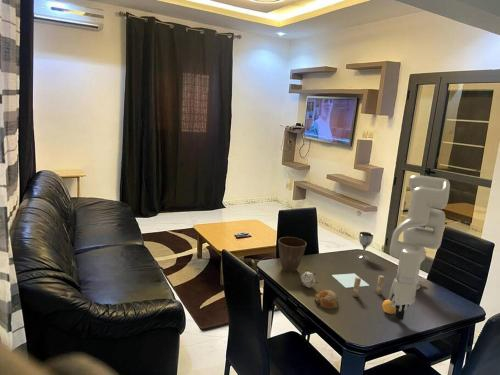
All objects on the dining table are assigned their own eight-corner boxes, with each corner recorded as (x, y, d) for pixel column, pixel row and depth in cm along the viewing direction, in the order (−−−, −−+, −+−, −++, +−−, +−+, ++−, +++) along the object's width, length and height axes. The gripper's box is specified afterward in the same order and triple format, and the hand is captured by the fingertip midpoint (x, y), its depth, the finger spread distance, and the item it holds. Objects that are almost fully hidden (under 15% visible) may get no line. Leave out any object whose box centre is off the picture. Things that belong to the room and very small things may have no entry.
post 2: (379, 292, 182) (382, 275, 180) (382, 294, 179) (385, 277, 177) (374, 292, 181) (377, 275, 179) (378, 295, 179) (380, 278, 177)
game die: (305, 295, 180) (300, 284, 174) (299, 282, 187) (294, 271, 181) (322, 288, 180) (317, 276, 174) (315, 275, 187) (310, 263, 181)
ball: (389, 308, 167) (391, 296, 166) (398, 315, 161) (400, 303, 160) (378, 309, 165) (380, 297, 164) (387, 317, 160) (389, 304, 158)
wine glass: (361, 253, 231) (364, 231, 227) (372, 258, 225) (376, 234, 222) (353, 256, 226) (357, 233, 222) (364, 261, 220) (368, 237, 216)
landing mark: (354, 273, 201) (354, 273, 201) (369, 285, 188) (369, 285, 188) (331, 275, 196) (331, 275, 196) (345, 287, 184) (345, 287, 183)
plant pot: (286, 261, 210) (289, 234, 207) (308, 270, 201) (311, 242, 197) (270, 268, 199) (272, 240, 195) (293, 278, 189) (296, 249, 186)
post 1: (356, 294, 178) (358, 277, 176) (359, 297, 175) (361, 279, 173) (351, 294, 177) (354, 277, 175) (354, 297, 175) (357, 279, 173)
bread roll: (332, 317, 163) (342, 304, 160) (312, 305, 163) (322, 291, 161) (332, 306, 172) (341, 293, 170) (313, 294, 173) (322, 281, 171)
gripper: (414, 273, 159) (406, 311, 163) (385, 275, 154) (378, 315, 158) (427, 281, 152) (419, 321, 156) (397, 283, 147) (390, 325, 151)
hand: (398, 318), depth 157 cm, fingers closed
